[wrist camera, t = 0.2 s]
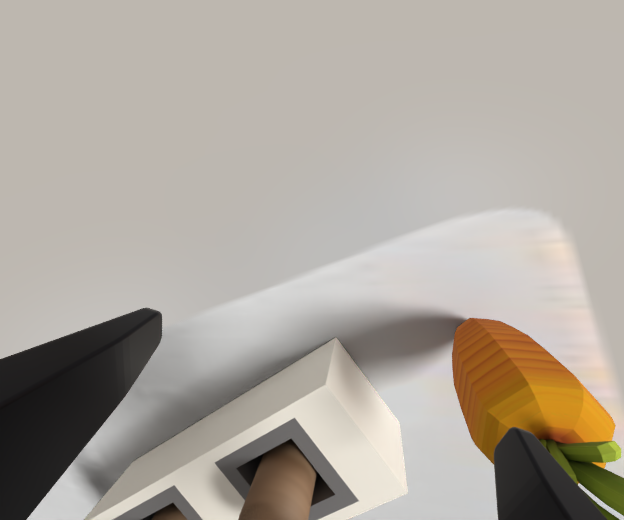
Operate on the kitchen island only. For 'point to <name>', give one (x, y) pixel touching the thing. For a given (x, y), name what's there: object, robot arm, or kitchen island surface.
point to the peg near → (281, 486)
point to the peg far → (169, 513)
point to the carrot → (534, 405)
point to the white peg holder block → (265, 436)
